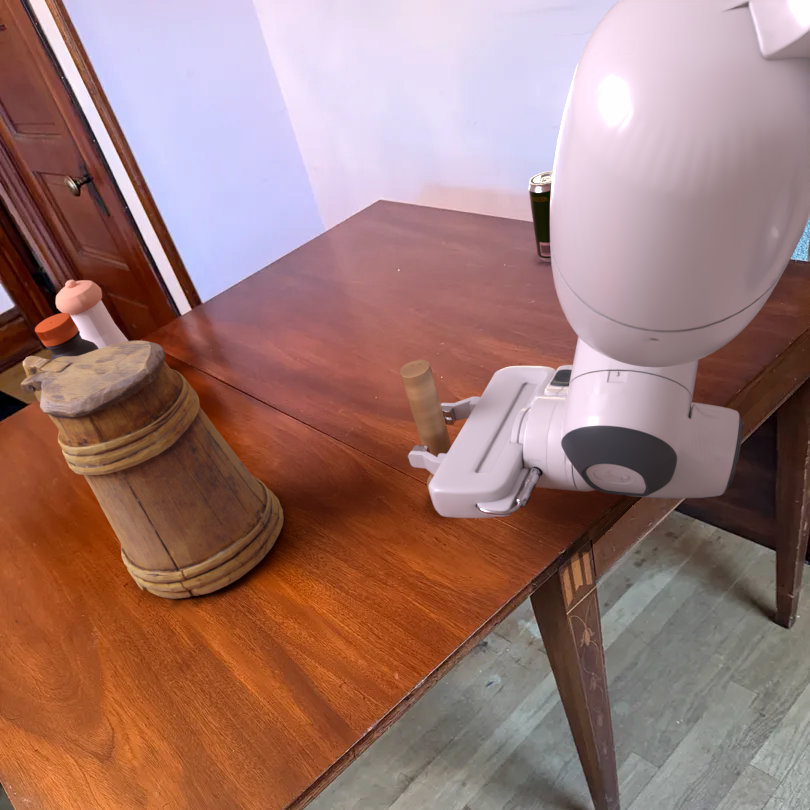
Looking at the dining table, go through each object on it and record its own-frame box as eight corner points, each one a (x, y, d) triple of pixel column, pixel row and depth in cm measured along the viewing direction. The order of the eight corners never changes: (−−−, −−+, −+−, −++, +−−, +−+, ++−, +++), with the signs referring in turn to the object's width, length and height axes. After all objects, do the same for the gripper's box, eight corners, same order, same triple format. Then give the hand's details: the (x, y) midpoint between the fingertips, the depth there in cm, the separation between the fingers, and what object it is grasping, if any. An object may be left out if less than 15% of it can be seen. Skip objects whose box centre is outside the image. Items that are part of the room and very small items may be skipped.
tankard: (230, 615, 79) (107, 424, 62) (79, 583, 90) (-60, 413, 73) (312, 500, 89) (225, 311, 73) (168, 484, 100) (64, 316, 84)
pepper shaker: (103, 400, 124) (36, 293, 111) (131, 375, 128) (70, 269, 115) (133, 402, 120) (67, 293, 108) (161, 377, 124) (101, 268, 112)
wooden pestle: (479, 497, 82) (446, 364, 71) (448, 518, 81) (409, 386, 70) (455, 480, 85) (420, 350, 74) (425, 501, 84) (384, 372, 73)
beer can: (567, 261, 117) (558, 183, 109) (534, 264, 119) (523, 187, 111) (575, 245, 120) (567, 168, 112) (543, 248, 122) (533, 172, 114)
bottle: (136, 423, 115) (64, 305, 102) (157, 435, 111) (84, 313, 97) (99, 448, 112) (19, 330, 99) (119, 462, 108) (38, 340, 95)
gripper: (525, 542, 67) (391, 524, 73) (586, 406, 79) (466, 402, 85) (515, 489, 63) (373, 475, 69) (580, 355, 75) (455, 354, 81)
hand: (425, 434), depth 77 cm, fingers open, 6 cm apart
